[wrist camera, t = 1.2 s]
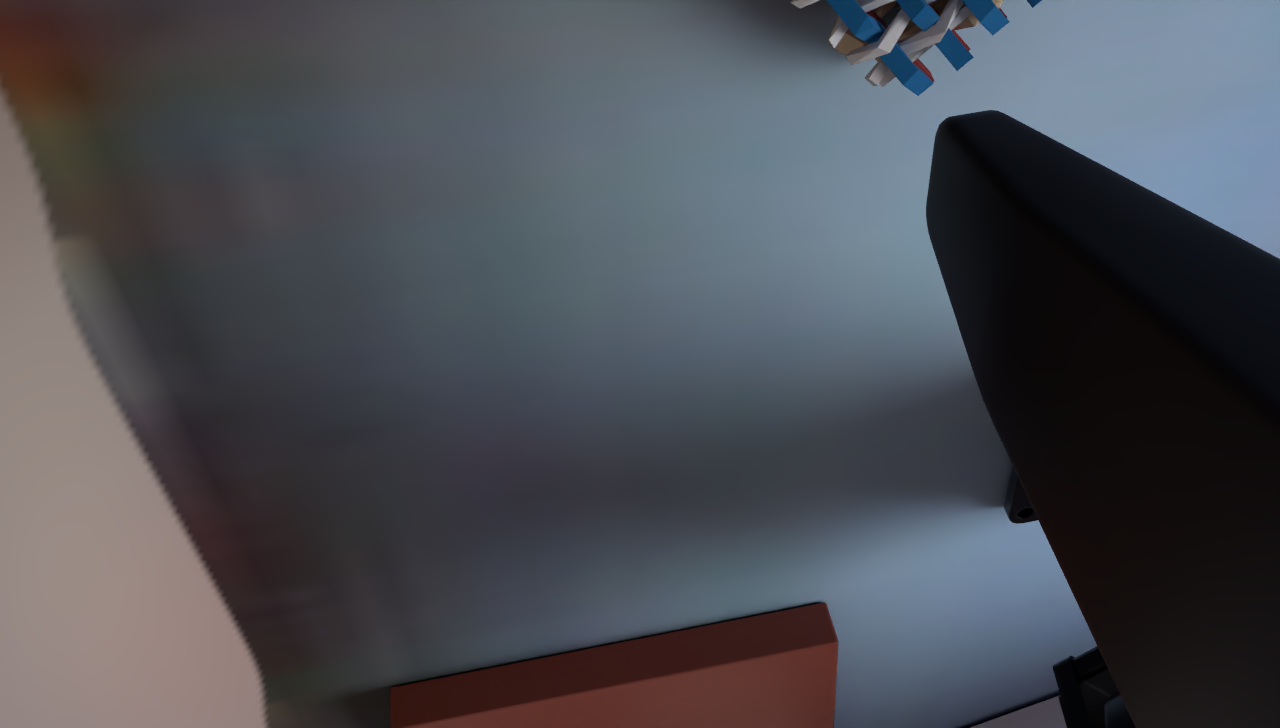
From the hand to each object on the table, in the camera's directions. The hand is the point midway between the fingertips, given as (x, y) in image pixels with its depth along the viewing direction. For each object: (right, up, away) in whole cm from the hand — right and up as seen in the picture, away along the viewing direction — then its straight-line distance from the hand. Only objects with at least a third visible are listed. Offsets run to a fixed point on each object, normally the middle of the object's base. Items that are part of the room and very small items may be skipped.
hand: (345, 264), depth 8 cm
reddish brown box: (+2, -17, +36) cm, 40 cm away
